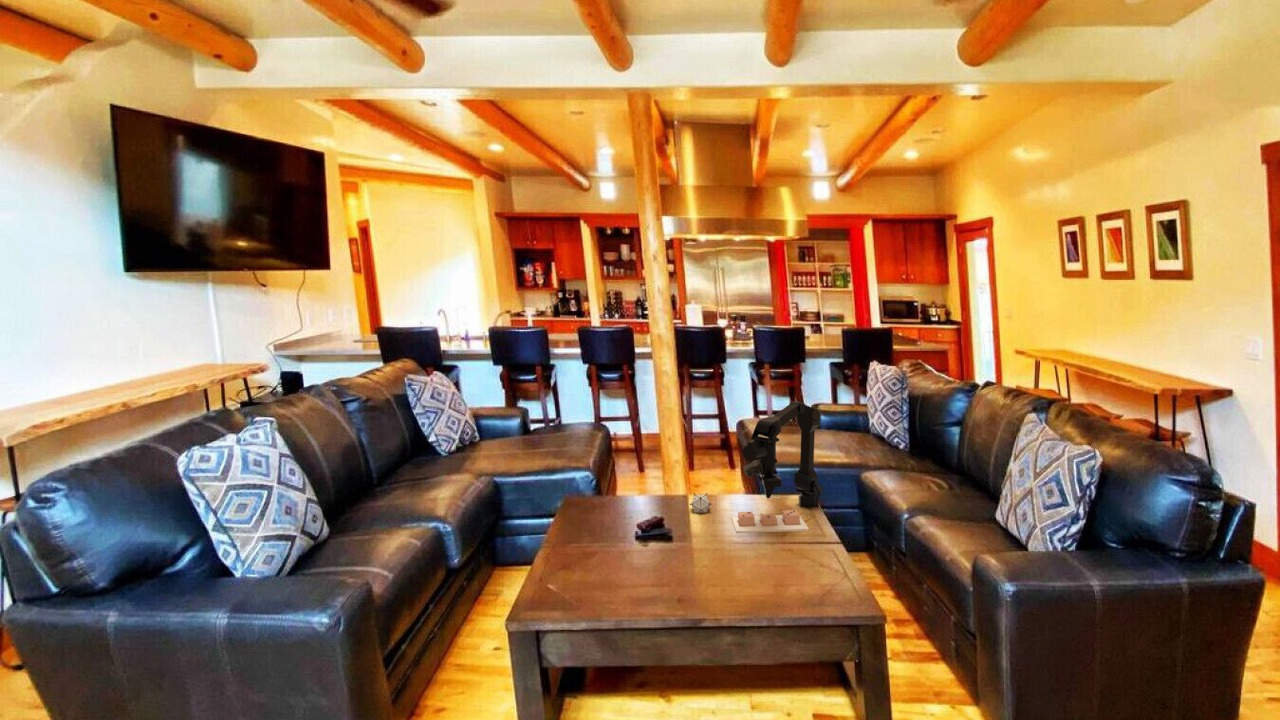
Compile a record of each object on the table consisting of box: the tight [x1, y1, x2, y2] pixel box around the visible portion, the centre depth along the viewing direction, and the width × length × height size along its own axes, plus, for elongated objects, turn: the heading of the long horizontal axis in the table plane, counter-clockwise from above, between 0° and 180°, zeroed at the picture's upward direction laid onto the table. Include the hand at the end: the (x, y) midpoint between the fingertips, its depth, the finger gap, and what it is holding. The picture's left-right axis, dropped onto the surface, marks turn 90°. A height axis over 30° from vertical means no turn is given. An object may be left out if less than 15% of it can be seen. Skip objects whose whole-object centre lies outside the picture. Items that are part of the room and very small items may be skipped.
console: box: [730, 514, 810, 534], centre depth 216 cm, size 25×13×2 cm, turn 89°
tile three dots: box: [782, 509, 801, 525], centre depth 216 cm, size 5×5×4 cm
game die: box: [689, 492, 713, 514], centre depth 231 cm, size 9×8×10 cm
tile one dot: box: [759, 513, 777, 526], centre depth 216 cm, size 5×5×4 cm
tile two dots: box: [737, 511, 755, 527], centre depth 216 cm, size 5×5×4 cm
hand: (768, 498), depth 215 cm, fingers closed
